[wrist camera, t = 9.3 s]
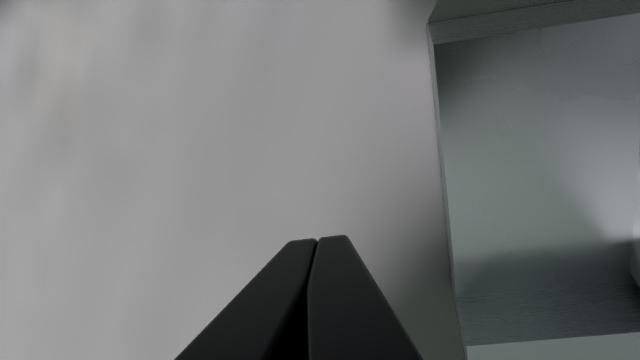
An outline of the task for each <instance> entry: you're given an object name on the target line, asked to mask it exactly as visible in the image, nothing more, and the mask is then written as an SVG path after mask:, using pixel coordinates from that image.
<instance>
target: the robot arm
mask: <svg viewBox="0 0 640 360" xmlns="http://www.w3.org/2000/svg"><path fill="white" fill-rule="evenodd" d="M174 360H423V359H422V357H421V355H420V354H419V352H418V351H417V349H416V347H415V346H414V344H413V342H412V341H411V339H410V337H409V336H408V334H407V333H406V331H405V329H404V328H403V326H402V324H401V323H400V321H399V320H398V318H397V316H396V315H395V313H394V311H393V310H392V308H391V306H390V305H389V303H388V302H387V300H386V298H385V297H384V295H383V293H382V292H381V290H380V289H379V287H378V285H377V284H376V282H375V280H374V279H373V277H372V275H371V274H370V272H369V271H368V269H367V267H366V266H365V264H364V262H363V261H362V259H361V257H360V256H359V254H358V253H357V251H356V249H355V248H354V246H353V244H352V243H351V241H350V240H349V238H348V237H347V236H346V235H338V236H329V237H322V238H320V239H319V240H318V241H317V240H316V239H303V240H294V241H290V242H288V243H287V244H286V245H285V246H284V247H283V248H282V249H281V250H280V251H279V252H278V253H277V254H276V255H275V256H274V257H273V258H272V259H271V260H270V261H269V262H268V263H267V265H266V266H265V267H264V268H263V269H262V270H261V271H260V272H259V273H258V274H257V275H256V276H255V277H254V278H253V279H252V280H251V281H250V282H249V283H248V284H247V285H246V286H245V287H244V288H243V289H242V290H241V291H240V292H239V293H238V294H237V295H236V297H235V298H234V299H233V300H232V301H231V302H230V303H229V304H228V305H227V306H226V307H225V308H224V309H223V310H222V311H221V312H220V313H219V314H218V315H217V316H216V317H215V318H214V319H213V320H212V321H211V322H210V323H209V324H208V325H207V326H206V327H205V328H204V330H203V331H202V332H201V333H200V334H199V335H198V336H197V337H196V338H195V339H194V340H193V341H192V342H191V343H190V344H189V345H188V346H187V347H186V348H185V349H184V350H183V351H182V352H181V353H180V354H179V355H178V356H177V357H176V358H175V359H174Z"/></svg>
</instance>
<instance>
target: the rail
mask: <svg viewBox="0 0 640 360" xmlns="http://www.w3.org/2000/svg"><path fill="white" fill-rule="evenodd" d="M426 25H427V36H428V46H429V56H430V66H431V76H432V87H433V97H434V107H435V117H436V127H437V138H438V148H439V158H440V168H441V179H442V189H443V199H444V209H445V219H446V230H447V240H448V250H449V260H450V270H451V281H452V291H453V296H454V301H455V307H456V312H457V317H458V322H459V328H460V333H461V338H462V343H463V349H464V354H465V359H466V360H640V287H639V285H638V284H637V282H636V280H635V279H634V277H633V276H632V274H631V272H630V271H629V269H630V257H631V244H632V232H633V219H634V206H635V194H636V181H637V169H638V156H639V143H640V0H571V1H565V2H558V3H552V4H546V5H540V6H533V7H527V8H521V9H515V10H509V11H502V12H496V13H490V14H484V15H478V16H471V17H465V18H459V19H453V20H447V21H440V22H434V23H428V24H426Z"/></svg>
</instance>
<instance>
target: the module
mask: <svg viewBox="0 0 640 360" xmlns="http://www.w3.org/2000/svg"><path fill="white" fill-rule="evenodd" d="M629 271H630V272H631V274H632V276H633V277H634V279H635V280H636V282H637V284H638V285H639V287H640V143H639V156H638V169H637V181H636V194H635V206H634V219H633V232H632V244H631V257H630V269H629Z"/></svg>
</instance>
